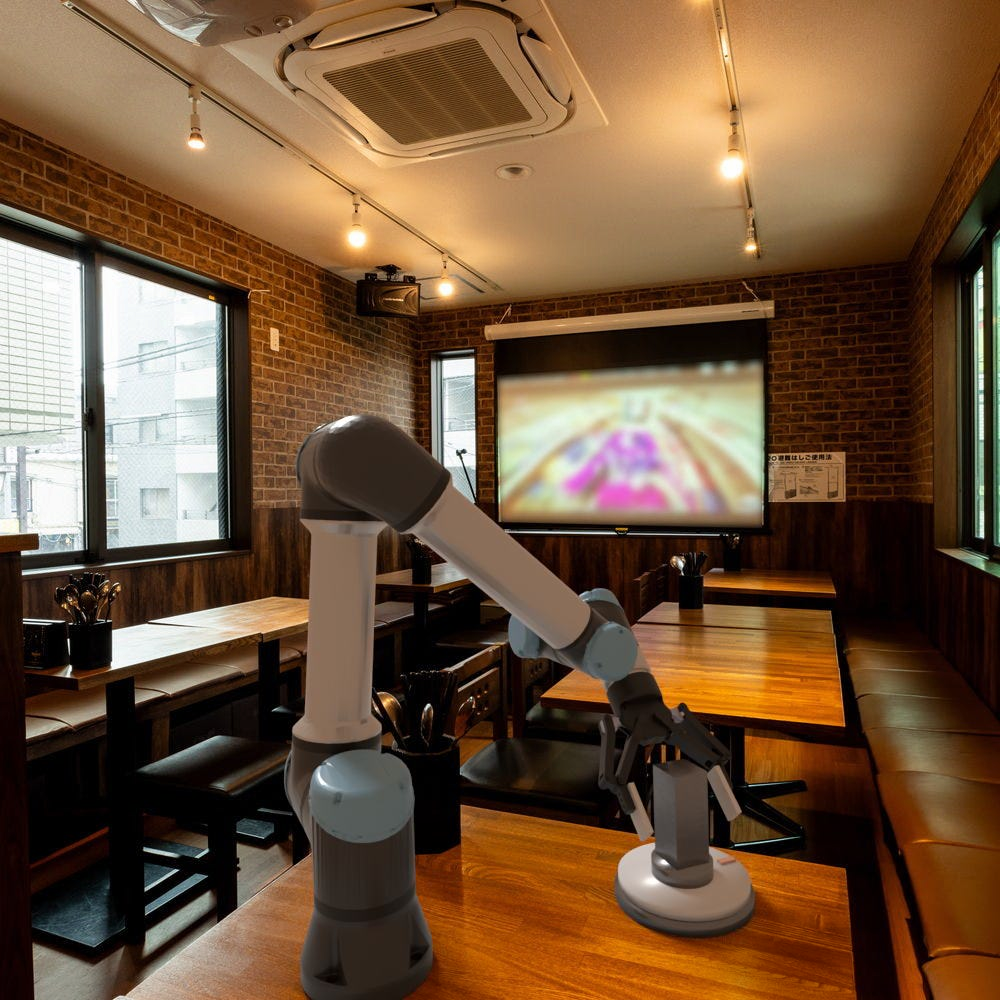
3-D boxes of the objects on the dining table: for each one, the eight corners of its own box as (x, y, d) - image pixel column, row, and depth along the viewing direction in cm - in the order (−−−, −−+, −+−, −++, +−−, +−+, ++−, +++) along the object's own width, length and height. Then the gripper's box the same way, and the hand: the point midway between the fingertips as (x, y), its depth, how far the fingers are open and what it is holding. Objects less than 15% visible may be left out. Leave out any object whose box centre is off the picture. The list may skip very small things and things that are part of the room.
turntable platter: (665, 935, 88) (664, 920, 88) (595, 867, 104) (595, 854, 103) (779, 902, 94) (779, 888, 94) (697, 842, 110) (697, 830, 110)
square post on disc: (674, 894, 93) (671, 784, 93) (639, 865, 101) (637, 762, 101) (726, 880, 96) (723, 773, 96) (689, 852, 104) (686, 753, 104)
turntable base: (664, 953, 87) (663, 940, 87) (591, 878, 104) (590, 867, 104) (785, 916, 94) (785, 904, 94) (698, 851, 110) (698, 841, 110)
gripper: (689, 685, 117) (756, 819, 103) (545, 707, 108) (597, 857, 94) (709, 659, 112) (782, 796, 98) (560, 679, 103) (618, 834, 89)
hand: (692, 826), depth 96 cm, fingers open, 13 cm apart
